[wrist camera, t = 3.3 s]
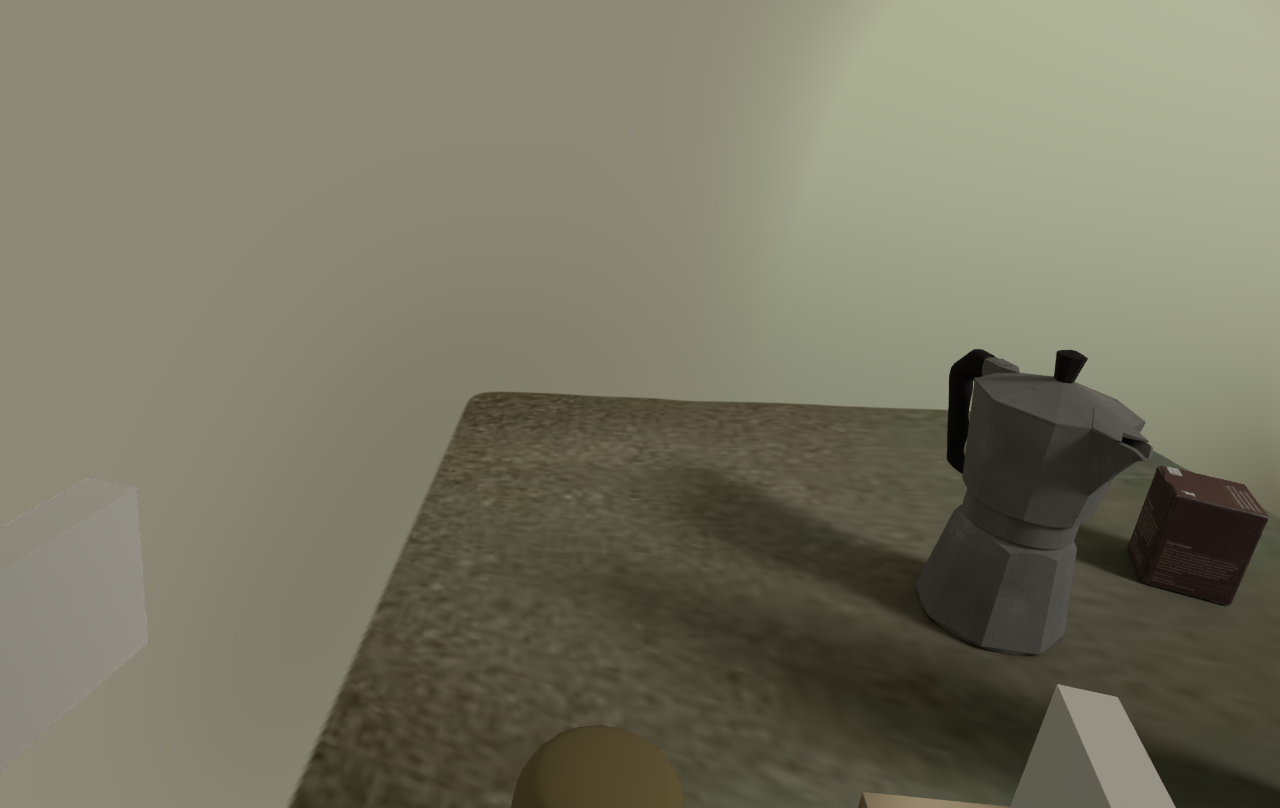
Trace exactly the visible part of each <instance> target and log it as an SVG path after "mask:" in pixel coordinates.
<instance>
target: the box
mask: <svg viewBox="0 0 1280 808" xmlns="http://www.w3.org/2000/svg"><path fill="white" fill-rule="evenodd" d="M1268 520H1269V516H1268V515H1267V514H1266V513H1265V511H1264V510H1263V509H1262V507H1261V506H1260V505H1259V503H1258V502H1257V501H1256V499H1255V498H1254V497H1253V496H1252V494H1251V493H1250V491H1249V490H1248V489H1247V487H1246V486H1245V485H1244V484H1239V483H1236V482H1231V481H1227V480H1222V479H1218V478H1214V477H1209V476H1205V475H1201V474H1196V473H1192V472H1188V471H1184V470H1180V469H1175V468H1171V467H1165V466H1158V467H1157V469H1156V473H1155V476H1154V478H1153V481H1152V483H1151V486H1150V489H1149V492H1148V494H1147V497H1146V500H1145V502H1144V505H1143V507H1142V510H1141V513H1140V515H1139V518H1138V521H1137V524H1136V527H1135V529H1134V532H1133V534H1132V537H1131V540H1130V542H1129V544H1128V549H1129V552H1130V554H1131V557H1132V559H1133V562H1134V564H1135V567H1136V569H1137V572H1138V574H1139V577H1140V579H1141V582H1143V583H1145V584H1149V585H1152V586H1156V587H1160V588H1163V589H1167V590H1172V591H1175V592H1179V593H1183V594H1187V595H1190V596H1195V597H1198V598H1202V599H1205V600H1209V601H1212V602H1216V603H1220V604H1224V605H1230V604H1231V603H1232V601H1233V598H1234V596H1235V593H1236V592H1237V589H1238V587H1239V585H1240V582H1241V580H1242V578H1243V576H1244V573H1245V571H1246V569H1247V566H1248V564H1249V562H1250V560H1251V557H1252V555H1253V553H1254V550H1255V548H1256V546H1257V544H1258V541H1259V539H1260V537H1261V535H1262V531H1263V529H1264V527H1265V525H1266V524H1267V522H1268Z"/></svg>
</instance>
